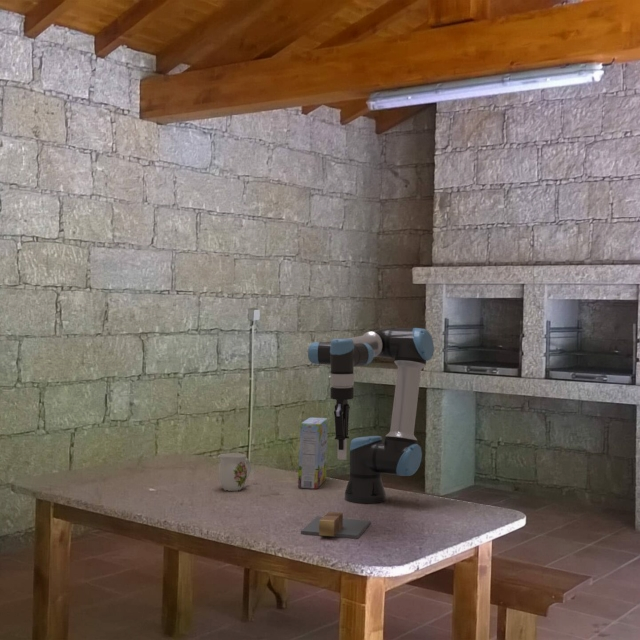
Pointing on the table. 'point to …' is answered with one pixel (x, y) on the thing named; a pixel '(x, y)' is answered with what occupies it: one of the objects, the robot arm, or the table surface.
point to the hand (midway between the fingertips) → (341, 459)
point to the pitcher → (233, 471)
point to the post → (330, 523)
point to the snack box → (312, 453)
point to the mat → (349, 529)
